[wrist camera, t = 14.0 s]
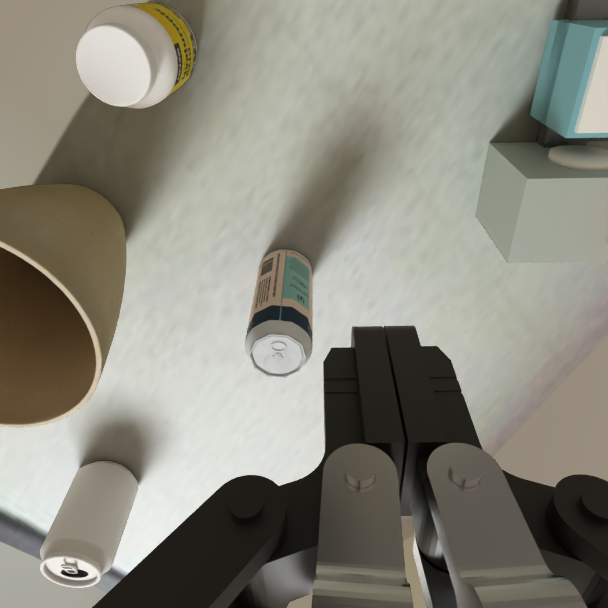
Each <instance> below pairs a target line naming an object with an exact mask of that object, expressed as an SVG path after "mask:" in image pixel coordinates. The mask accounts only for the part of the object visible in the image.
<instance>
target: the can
mask: <svg viewBox="0 0 608 608" xmlns="http://www.w3.org/2000/svg"><path fill="white" fill-rule="evenodd" d="M137 490H138V482H137V481H136V479H135V477H134V476H133V475H132V473H131V472H130V471H129V470H128V469H127V468H126V467H124V466H122V465H121V464H118V463H115V462H111V461H97V462H94V463H90V464H87V465H84V466H83V467H81V468H80V469H79V470H78V472H77V474H76V476H75V478H74V480H73V482H72V484H71V486H70V488H69V491H68V493H67V495H66V497H65V499H64V501H63V503H62V505H61V507H60V509H59V512H58V514H57V516H56V518H55V520H54V522H53V524H52V526H51V528H50V530H49V533H48V535H47V537H46V539H45V541H44V543H43V545H42V547H41V550H40V555H41V558H42V562H41V564H40V570H41V572H42V574H43V575H44V576H45V577H46V578H48V579H49V580H50V581H53V582H55V583H57V584H59V585H63V586H67V587H75V588H81V587H89V586H92V585H94V584H96V583H98V582H99V581H100V579H101V577H102V574H104V573H105V572H107V571H108V570H109V569H110V568H111V566H112V564H113V561H114V558H115V555H116V552H117V549H118V546H119V543H120V540H121V537H122V534H123V531H124V529H125V526H126V523H127V520H128V517H129V514H130V511H131V508H132V505H133V502H134V499H135V496H136V493H137Z"/></svg>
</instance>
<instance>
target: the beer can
mask: <svg viewBox="0 0 608 608" xmlns="http://www.w3.org/2000/svg"><path fill="white" fill-rule="evenodd" d="M245 351H246V354H247V356H248V358H249V359H250V361H251V362H252V364H253V366H254V368H255V369H257V370H259V371H260V372H262V373H263V374H265V375H266V376H270V377H284V378H285V377H287V376H289V375H292V374H294V373H296V372H298V371H300V369H301V368H302V367H303V366H304V365H305V364H306V362H307V361H308V360H309V358H310V356H311V353H312V267H311V265H310V263H309V261H308V260H307V258H305V257H304V256H303V255H302V254H300V253H299V252H296V251H294V250H289V249H281V250H276V251H273V252H271V253H270V254H268V255H267V256H266V257H265V258H264V259H263V260H262V262H261V264H260V266H259V271H258V276H257V282H256V287H255V292H254V298H253V303H252V309H251V314H250V319H249V325H248V330H247V335H246V341H245Z"/></svg>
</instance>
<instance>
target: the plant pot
mask: <svg viewBox="0 0 608 608" xmlns="http://www.w3.org/2000/svg"><path fill="white" fill-rule="evenodd" d="M125 274H126V237H125V228H124V224H123V221H122V219H121V216H120V214H119V213H118V211H117V210H116V208H115V207H114V206H113V205H112V204H111V203H110V202H109V201H108V200H107V199H106V198H105V197H104V196H102V195H101V194H99V193H98V192H96V191H94V190H92V189H90V188H87V187H84V186H80V185H73V184H40V185H28V186H19V187H13V188H6V189H0V427H17V428H18V427H32V426H39V425H44V424H48V423H52V422H55V421H58V420H61V419H63V418H65V417H68V416H69V415H71V414H73V413H74V412H76V411H77V410H78V409H80V408H81V407H82V406H83V405H84V404H85V403H86V402H87V401H88V400H89V399H90V398H91V396H92V395H93V393H94V391H95V390H96V388H97V385H98V383H99V380H100V377H101V374H102V371H103V368H104V365H105V362H106V359H107V356H108V353H109V350H110V347H111V343H112V340H113V337H114V333H115V330H116V326H117V322H118V318H119V313H120V308H121V303H122V297H123V291H124V283H125Z"/></svg>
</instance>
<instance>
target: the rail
mask: <svg viewBox="0 0 608 608" xmlns="http://www.w3.org/2000/svg"><path fill="white" fill-rule="evenodd" d="M565 20H570V21H579V20H608V0H569V4H568V8H567V13H566V17H565ZM586 141H587V138H565V137H563V136H561V135H560V134H558V133H557V132H555V131H554V130H552V129H551V128H549V127H547V126H546V125H544V124H543V123H541V122H540V126H539V130H538V135H537V139H536V143H538V144H539V145H540V146H542V147H543V148H553V147H557V146H563V145H583V146H585V145H586Z"/></svg>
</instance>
